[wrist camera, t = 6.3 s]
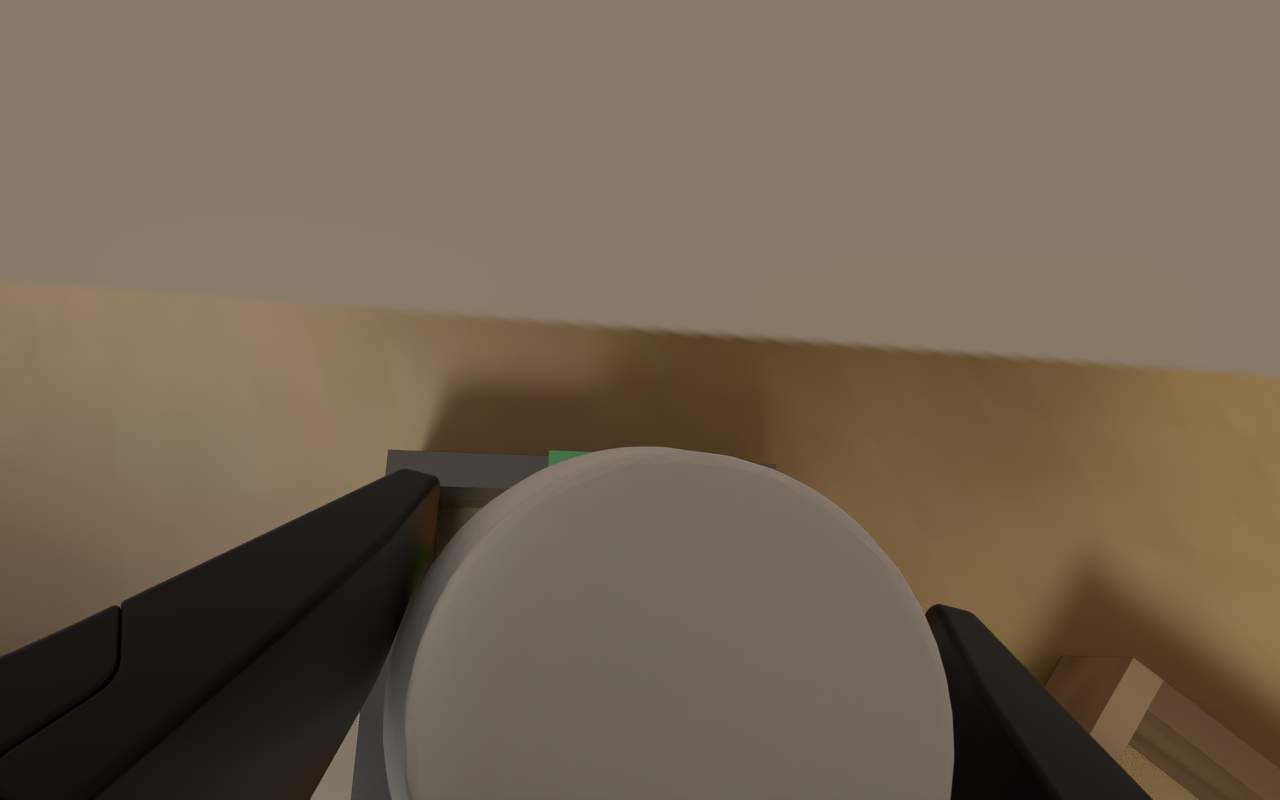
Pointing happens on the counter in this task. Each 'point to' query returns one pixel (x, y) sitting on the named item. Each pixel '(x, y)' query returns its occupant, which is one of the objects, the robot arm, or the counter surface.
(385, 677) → the dock collar
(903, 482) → the counter surface
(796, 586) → the supplement bottle
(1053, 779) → the robot arm
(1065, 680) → the holder sleeve
